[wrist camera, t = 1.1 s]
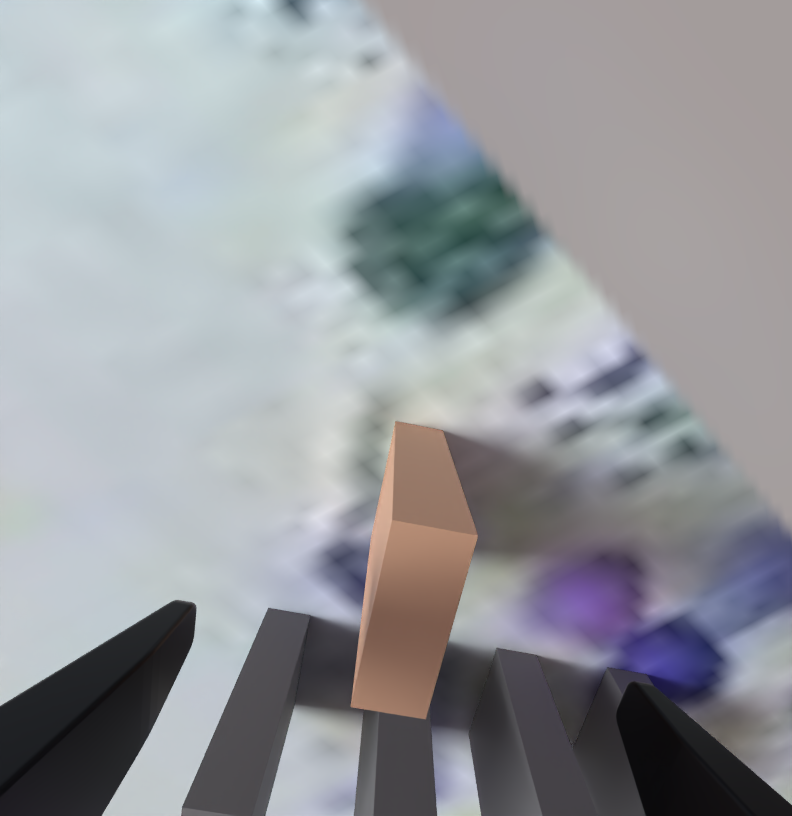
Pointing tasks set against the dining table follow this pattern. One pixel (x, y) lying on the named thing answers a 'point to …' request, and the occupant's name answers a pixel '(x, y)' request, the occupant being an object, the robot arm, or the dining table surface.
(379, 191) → the dining table surface
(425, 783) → the domino
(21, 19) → the dining table surface
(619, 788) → the domino
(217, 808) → the domino
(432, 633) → the tan rectangular block
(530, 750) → the domino
